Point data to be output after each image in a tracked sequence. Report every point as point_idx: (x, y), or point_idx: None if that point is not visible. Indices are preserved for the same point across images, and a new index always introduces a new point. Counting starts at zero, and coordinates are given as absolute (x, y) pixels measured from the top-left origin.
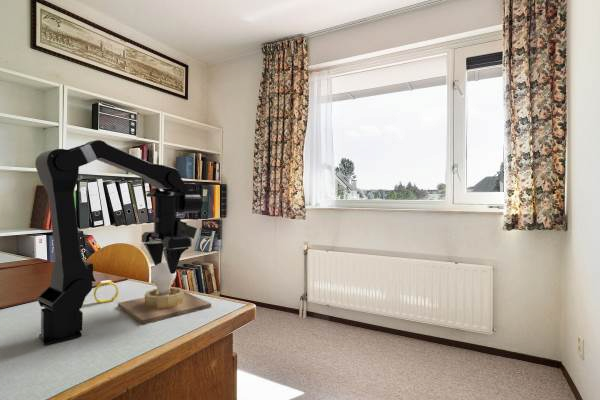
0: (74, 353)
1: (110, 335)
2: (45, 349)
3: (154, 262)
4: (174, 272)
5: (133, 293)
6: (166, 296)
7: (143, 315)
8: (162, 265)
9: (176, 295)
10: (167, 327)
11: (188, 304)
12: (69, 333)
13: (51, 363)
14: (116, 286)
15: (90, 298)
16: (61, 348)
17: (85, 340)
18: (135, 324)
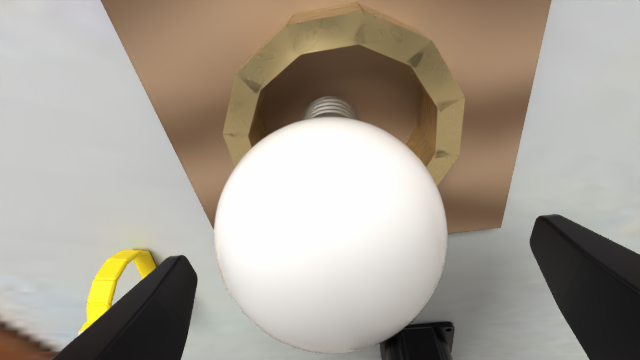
0: (537, 330)
1: (499, 283)
2: (465, 354)
3: (180, 351)
4: (561, 223)
5: (33, 179)
6: (446, 158)
7: (451, 218)
8: (396, 332)
9: (462, 100)
10: (605, 161)
11: (466, 2)
12: (447, 346)
13: (546, 350)
14: (112, 290)
15: (88, 291)
16: (486, 341)
17: (481, 316)
18: (470, 231)
